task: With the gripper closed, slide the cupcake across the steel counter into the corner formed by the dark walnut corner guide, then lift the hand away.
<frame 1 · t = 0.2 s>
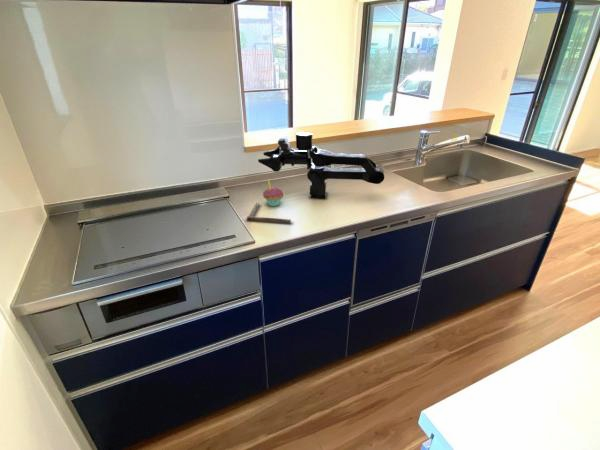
hand: (260, 157, 148), 16 cm above the countertop, tool horizontal, fingers open, 9 cm apart
cupcake: (273, 204, 146), on the countertop
corner guide: (267, 216, 137), on the countertop
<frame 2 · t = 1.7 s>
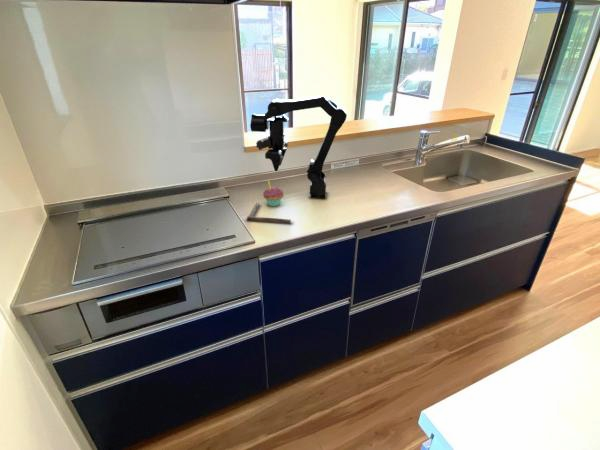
hand: (277, 168, 149), 12 cm above the countertop, tool pointing down, fingers open, 6 cm apart
nothing on the countertop moved.
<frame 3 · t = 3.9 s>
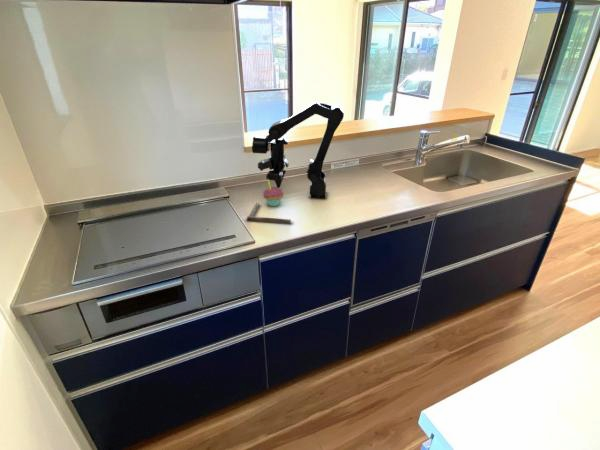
hand: (278, 187, 154), 3 cm above the countertop, tool pointing down, fingers closed
nothing on the countertop moved.
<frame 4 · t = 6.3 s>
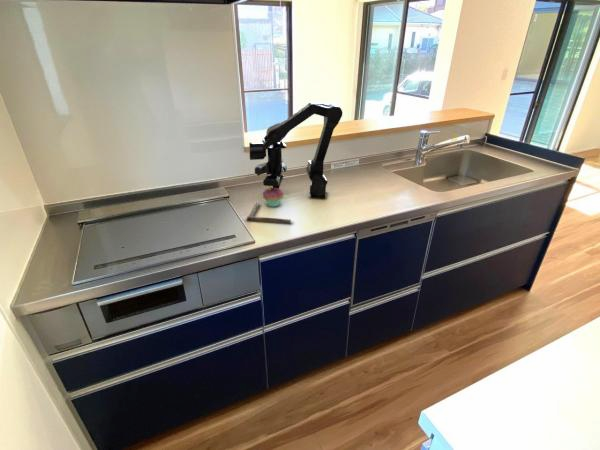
hand: (276, 192, 150), 3 cm above the countertop, tool pointing down, fingers closed
cupcake: (273, 204, 146), on the countertop, touching gripper
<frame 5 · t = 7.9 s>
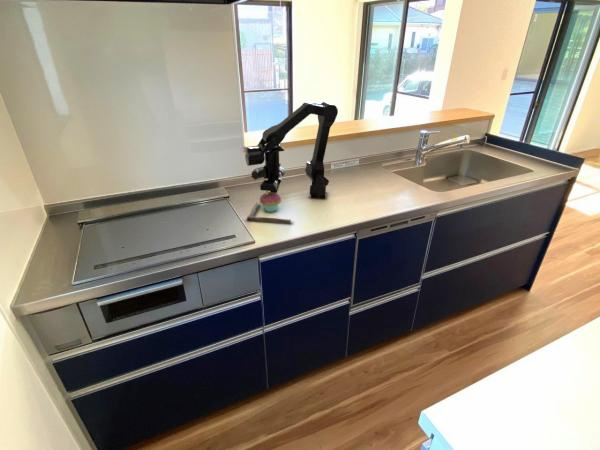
hand: (273, 197, 146), 3 cm above the countertop, tool pointing down, fingers closed
cupcake: (270, 209, 142), on the countertop, touching gripper
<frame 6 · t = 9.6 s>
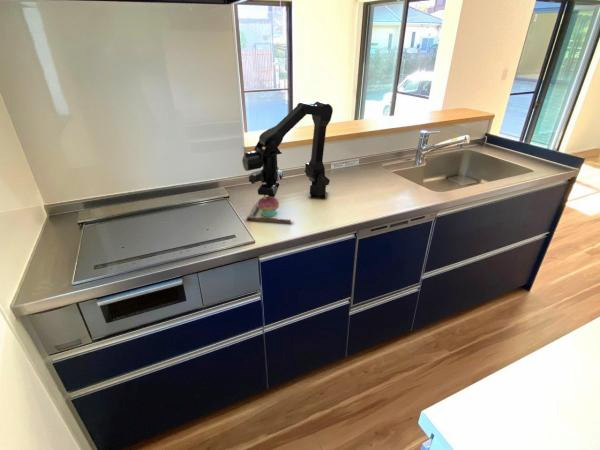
hand: (271, 201, 142), 3 cm above the countertop, tool pointing down, fingers closed
cupcake: (268, 214, 138), on the countertop, touching gripper
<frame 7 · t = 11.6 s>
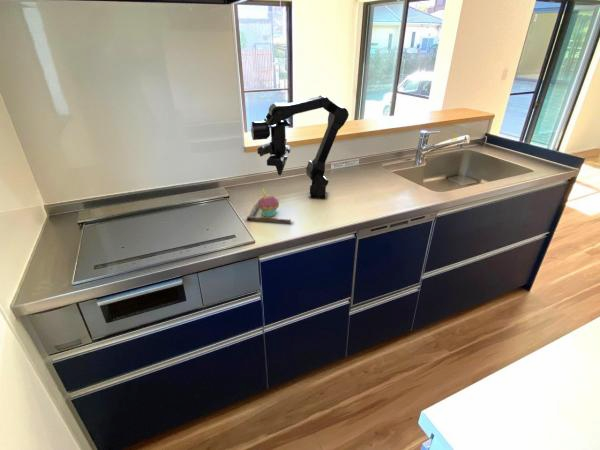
hand: (279, 174, 143), 12 cm above the countertop, tool pointing down, fingers closed
cupcake: (268, 214, 138), on the countertop
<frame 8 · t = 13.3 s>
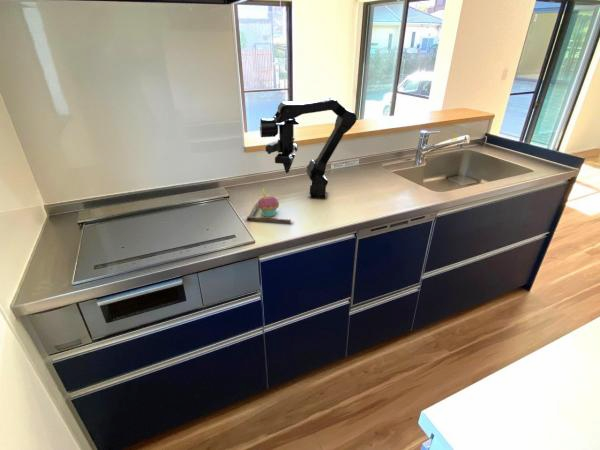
hand: (287, 172, 145), 12 cm above the countertop, tool pointing down, fingers closed
nothing on the countertop moved.
at the end: cupcake inside the target area (1.9 cm from its centre), on the countertop; cupcake tilted 0°; cupcake moved 9.1 cm from its start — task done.
